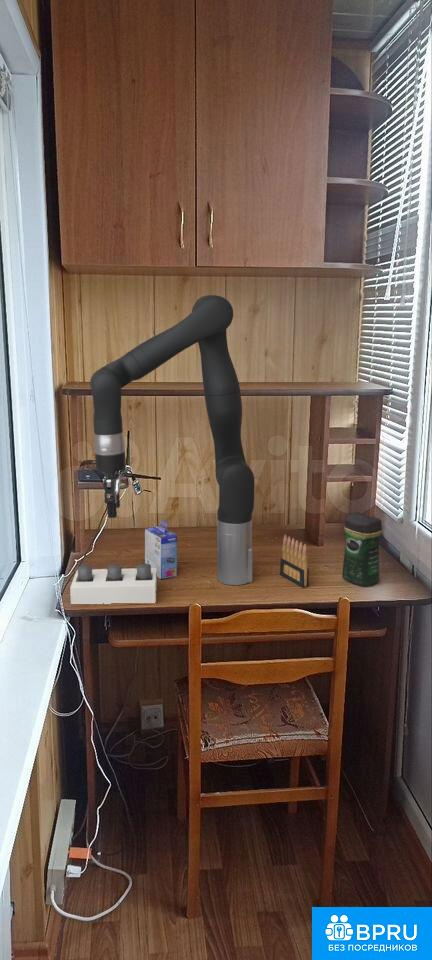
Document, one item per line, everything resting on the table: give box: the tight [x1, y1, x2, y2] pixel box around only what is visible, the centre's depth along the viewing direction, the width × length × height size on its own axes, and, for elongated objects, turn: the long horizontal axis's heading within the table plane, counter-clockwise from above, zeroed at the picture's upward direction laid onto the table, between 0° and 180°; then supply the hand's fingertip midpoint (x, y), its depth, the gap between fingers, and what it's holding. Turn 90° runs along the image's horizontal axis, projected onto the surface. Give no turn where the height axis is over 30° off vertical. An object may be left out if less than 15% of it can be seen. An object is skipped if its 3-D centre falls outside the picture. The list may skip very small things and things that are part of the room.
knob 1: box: [77, 564, 93, 582], centre depth 180 cm, size 4×4×4 cm
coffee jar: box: [342, 511, 383, 587], centre depth 189 cm, size 10×8×19 cm
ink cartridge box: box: [144, 520, 178, 580], centre depth 195 cm, size 10×6×14 cm, turn 33°
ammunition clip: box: [279, 533, 310, 589], centre depth 190 cm, size 11×2×12 cm, turn 30°
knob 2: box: [136, 562, 151, 580], centre depth 181 cm, size 4×4×4 cm
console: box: [69, 567, 158, 605], centre depth 181 cm, size 21×12×5 cm, turn 93°
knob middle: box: [106, 563, 123, 581], centre depth 181 cm, size 4×4×4 cm
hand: (114, 512), depth 180 cm, fingers open, 8 cm apart
